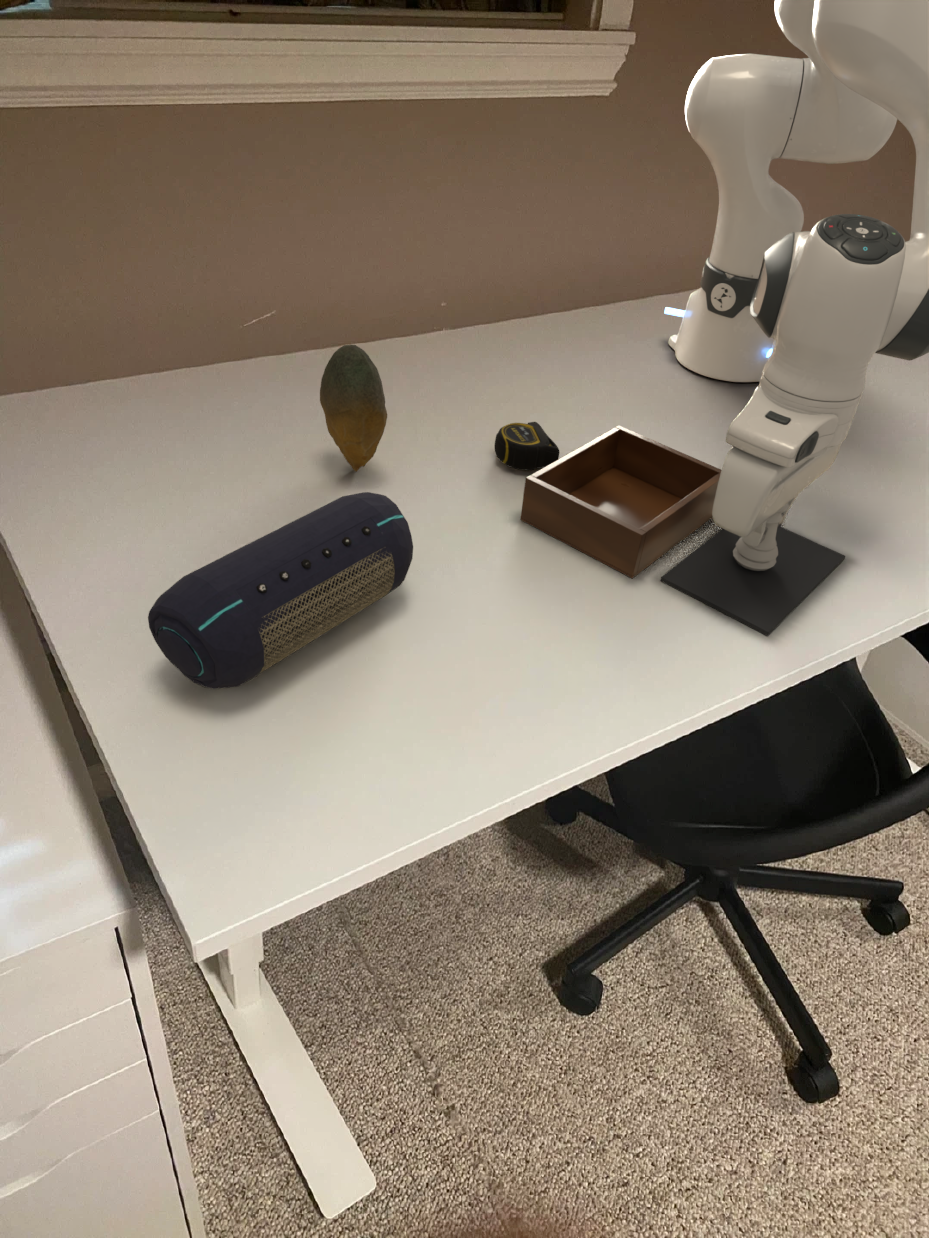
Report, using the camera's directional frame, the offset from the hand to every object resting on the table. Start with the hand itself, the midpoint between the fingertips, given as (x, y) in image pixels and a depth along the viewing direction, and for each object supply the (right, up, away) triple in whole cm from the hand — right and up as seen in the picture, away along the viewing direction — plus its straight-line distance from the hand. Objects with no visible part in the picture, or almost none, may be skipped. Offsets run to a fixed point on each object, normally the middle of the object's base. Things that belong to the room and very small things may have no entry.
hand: (761, 534), depth 93 cm
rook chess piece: (0, -3, +2) cm, 4 cm away
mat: (0, -4, +2) cm, 4 cm away
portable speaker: (-45, -10, -10) cm, 47 cm away
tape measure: (-23, +10, +17) cm, 30 cm away
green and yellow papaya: (-43, +8, +13) cm, 46 cm away
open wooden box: (-13, +3, +9) cm, 16 cm away
